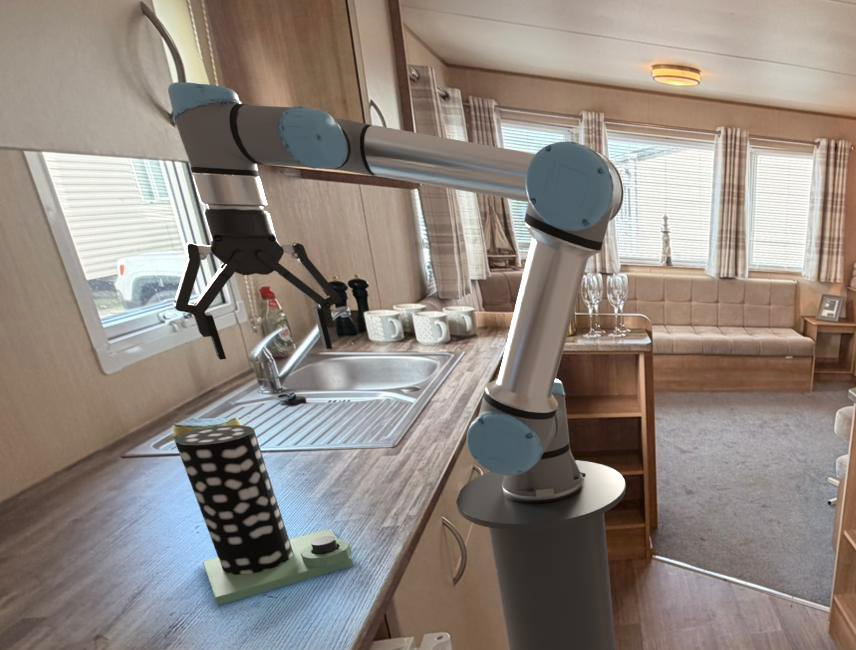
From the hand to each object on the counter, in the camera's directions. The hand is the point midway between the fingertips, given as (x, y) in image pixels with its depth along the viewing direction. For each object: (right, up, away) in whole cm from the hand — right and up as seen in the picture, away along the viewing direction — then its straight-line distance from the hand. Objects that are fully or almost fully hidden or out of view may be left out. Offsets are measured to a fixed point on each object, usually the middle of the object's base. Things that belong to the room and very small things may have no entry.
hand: (277, 352), depth 102 cm
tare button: (+11, -31, -5) cm, 34 cm away
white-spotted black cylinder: (+2, -33, -6) cm, 33 cm away
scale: (+5, -34, -5) cm, 35 cm away
